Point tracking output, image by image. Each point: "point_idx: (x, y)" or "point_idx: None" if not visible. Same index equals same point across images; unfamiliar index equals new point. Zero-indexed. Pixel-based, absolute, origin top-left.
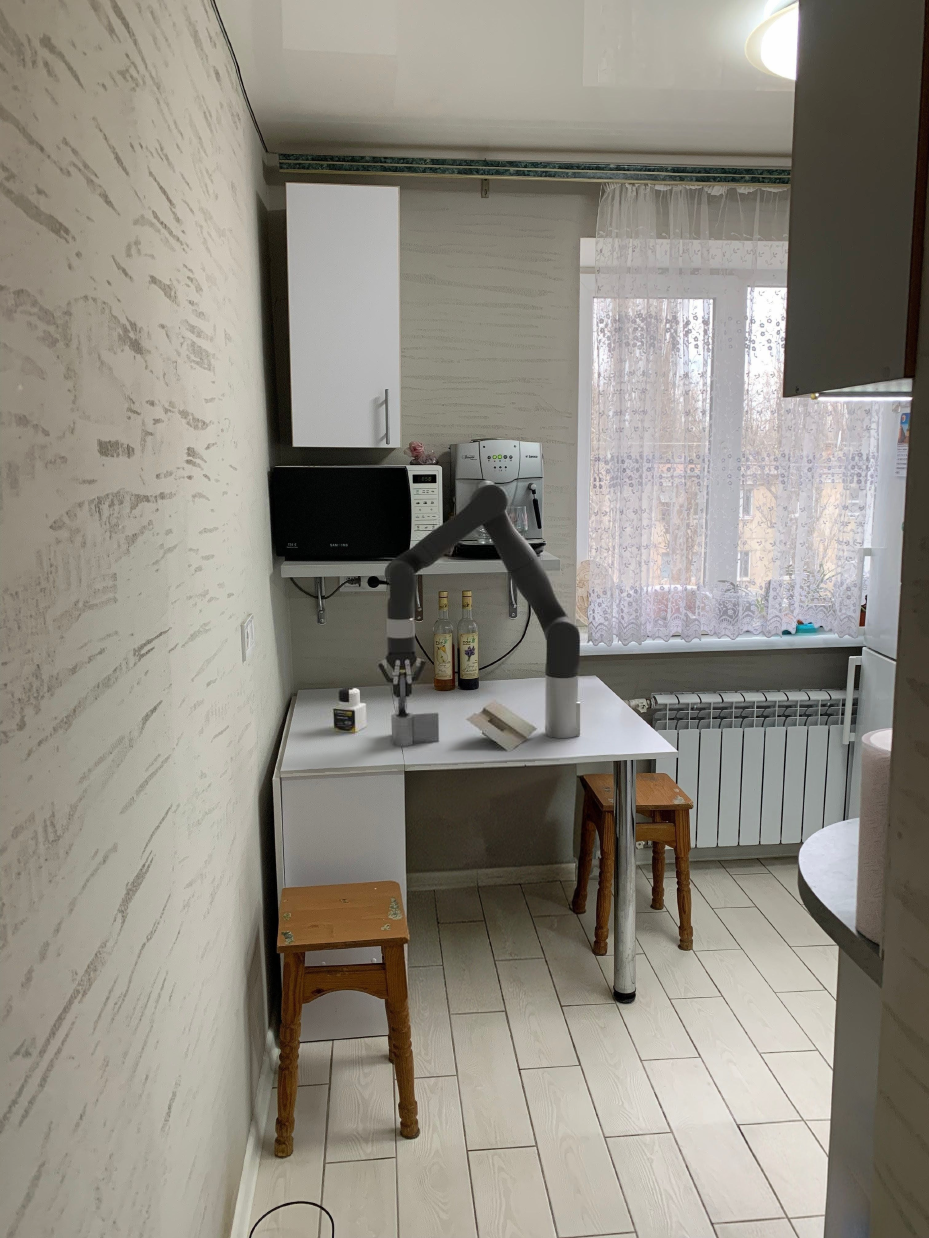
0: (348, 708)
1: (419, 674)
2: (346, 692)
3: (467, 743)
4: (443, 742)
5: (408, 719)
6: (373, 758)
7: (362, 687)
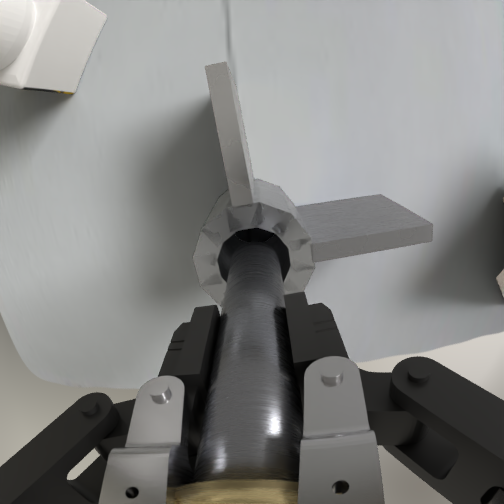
0: (3, 81)
1: (447, 457)
2: None
3: (454, 237)
4: None
5: None
6: None
7: None
